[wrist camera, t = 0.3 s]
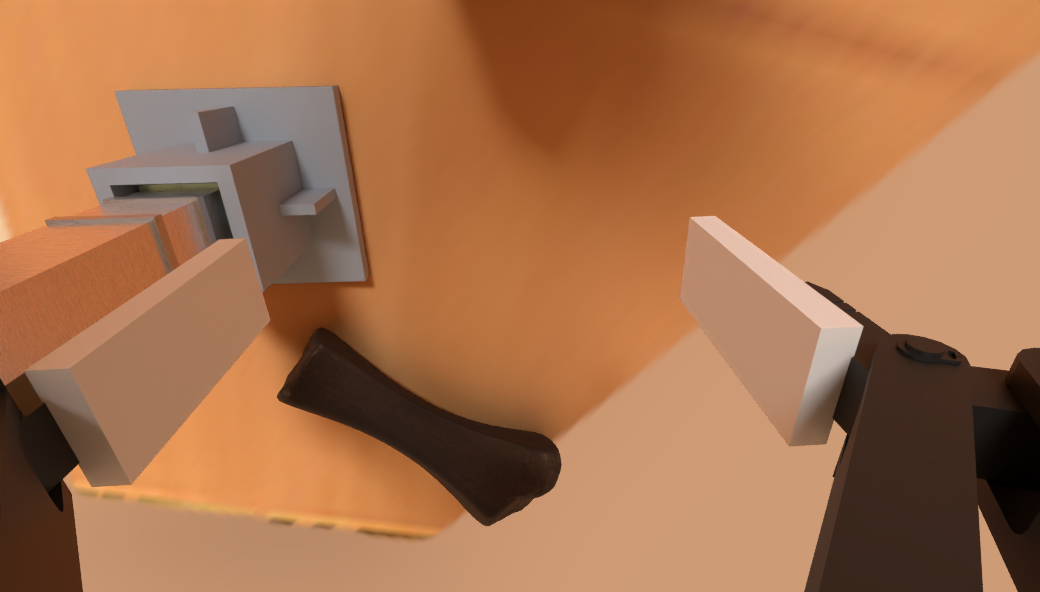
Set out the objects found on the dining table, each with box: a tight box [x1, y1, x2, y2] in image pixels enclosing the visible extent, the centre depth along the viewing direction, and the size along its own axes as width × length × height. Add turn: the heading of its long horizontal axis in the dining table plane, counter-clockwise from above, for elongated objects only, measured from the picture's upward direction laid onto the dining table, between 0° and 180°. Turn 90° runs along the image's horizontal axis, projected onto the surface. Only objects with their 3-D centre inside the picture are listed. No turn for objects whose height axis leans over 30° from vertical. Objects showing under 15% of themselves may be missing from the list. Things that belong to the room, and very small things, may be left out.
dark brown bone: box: [277, 328, 561, 526], centre depth 49 cm, size 11×10×28 cm
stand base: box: [86, 86, 369, 292], centre depth 36 cm, size 16×16×12 cm
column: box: [0, 182, 234, 385], centre depth 28 cm, size 6×6×27 cm
